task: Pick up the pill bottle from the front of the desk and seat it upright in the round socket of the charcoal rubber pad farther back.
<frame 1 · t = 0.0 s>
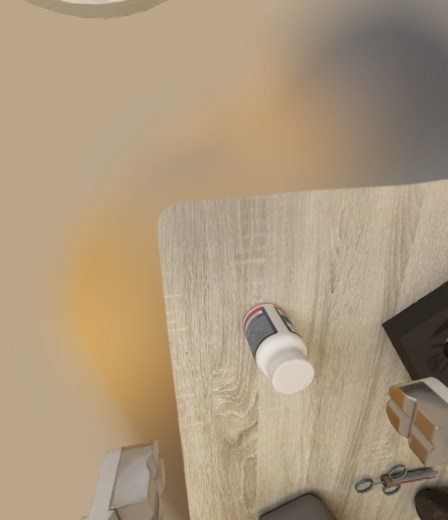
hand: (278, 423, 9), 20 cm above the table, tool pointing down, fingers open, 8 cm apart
alarm clock: (300, 516, 48), on the table
syringe: (397, 472, 48), on the table
pill bottle: (263, 320, 32), on the table
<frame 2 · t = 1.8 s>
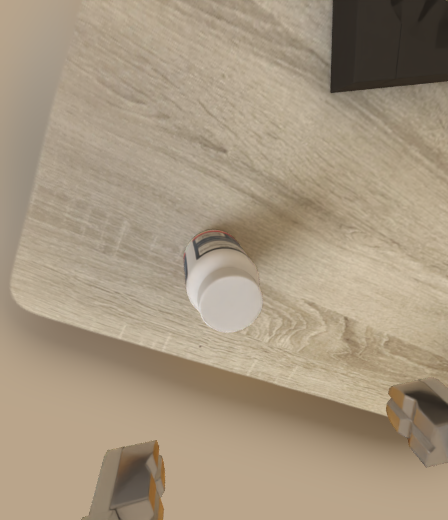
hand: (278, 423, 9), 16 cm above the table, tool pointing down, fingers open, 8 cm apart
pill bottle: (212, 256, 24), on the table
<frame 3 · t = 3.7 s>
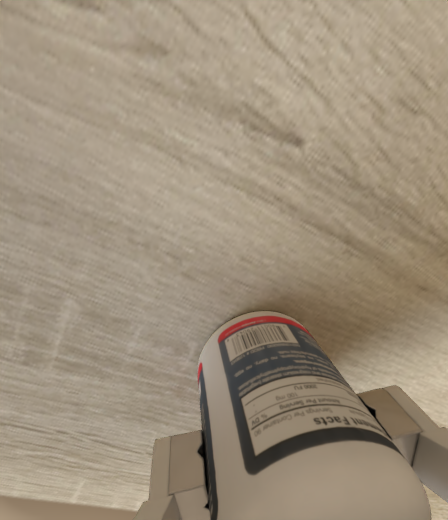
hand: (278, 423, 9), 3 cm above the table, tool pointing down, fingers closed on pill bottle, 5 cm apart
pill bottle: (254, 355, 12), on the table, touching gripper
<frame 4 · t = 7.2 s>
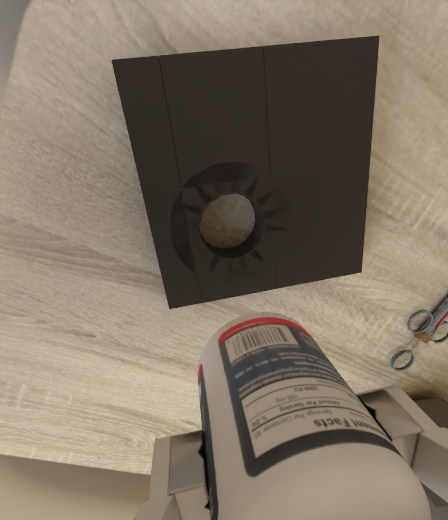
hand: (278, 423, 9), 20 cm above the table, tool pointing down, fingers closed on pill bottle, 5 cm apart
alarm clock: (388, 419, 42), on the table
syringe: (431, 313, 35), on the table
socket pad: (253, 185, 26), on the table
pill bottle: (254, 356, 12), point 16 cm above the table, touching gripper
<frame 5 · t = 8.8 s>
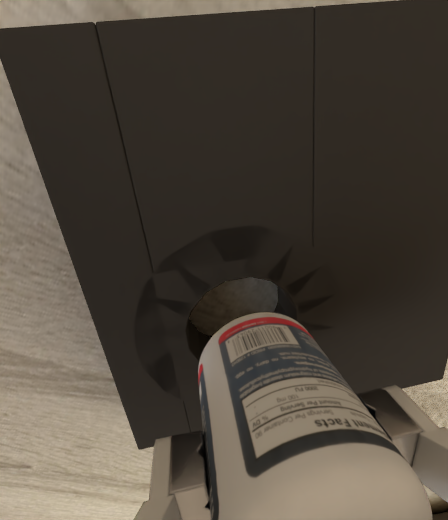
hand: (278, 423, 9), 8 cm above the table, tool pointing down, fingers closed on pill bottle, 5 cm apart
socket pad: (276, 248, 16), on the table
pill bottle: (255, 356, 12), point 5 cm above the table, touching gripper
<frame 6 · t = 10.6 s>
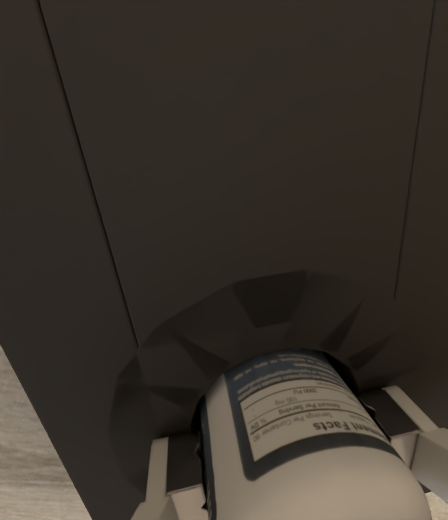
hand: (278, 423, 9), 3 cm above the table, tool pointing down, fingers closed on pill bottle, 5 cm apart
socket pad: (320, 287, 11), on the table
pill bottle: (254, 357, 12), resting in socket pad, touching gripper
when the fingers open (3 cm above the table, at t = 10.7 s): pill bottle stays where it is, resting in socket pad.
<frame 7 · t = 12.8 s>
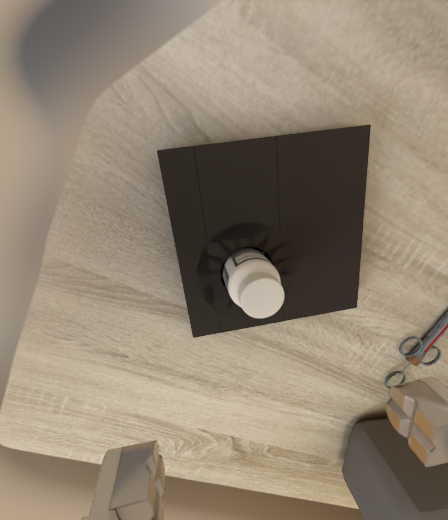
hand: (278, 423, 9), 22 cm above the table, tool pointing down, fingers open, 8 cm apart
alarm clock: (383, 432, 46), on the table
syringe: (421, 339, 40), on the table
socket pad: (265, 234, 30), on the table
pill bottle: (241, 262, 31), resting in socket pad
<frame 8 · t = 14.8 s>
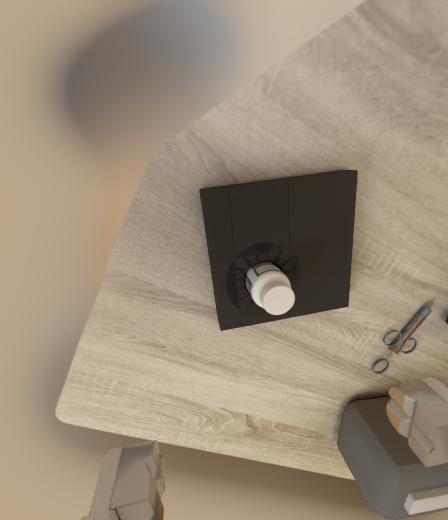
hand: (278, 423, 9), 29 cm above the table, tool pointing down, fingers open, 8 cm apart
alarm clock: (371, 410, 55), on the table
syringe: (401, 332, 49), on the table
socket pad: (276, 249, 39), on the table
pill bottle: (258, 271, 40), resting in socket pad
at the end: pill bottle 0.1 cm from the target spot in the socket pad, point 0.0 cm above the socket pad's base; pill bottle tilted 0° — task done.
